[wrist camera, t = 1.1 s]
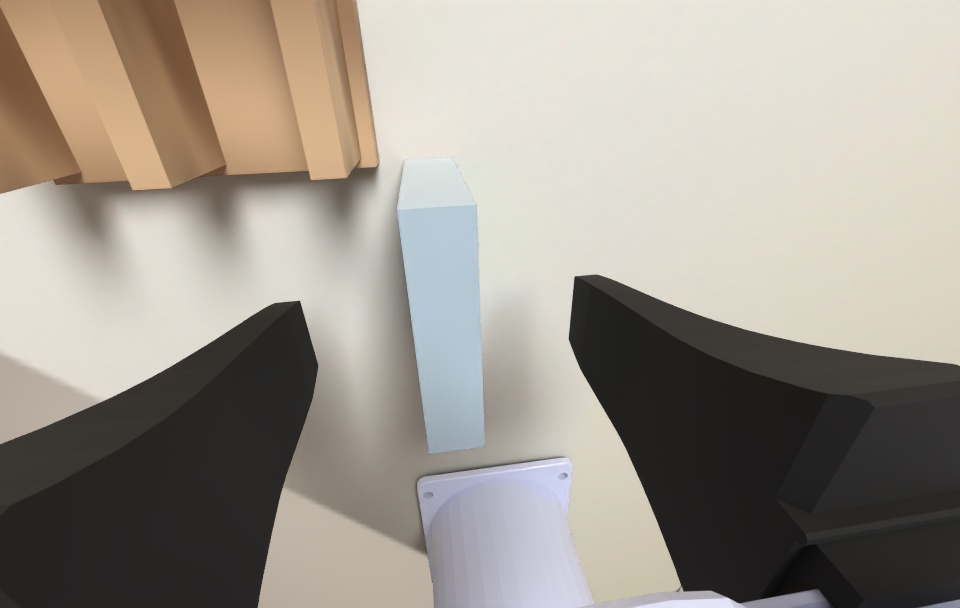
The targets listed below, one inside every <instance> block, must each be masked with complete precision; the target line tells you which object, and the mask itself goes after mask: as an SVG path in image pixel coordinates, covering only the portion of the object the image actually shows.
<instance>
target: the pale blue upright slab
mask: <svg viewBox="0 0 960 608" xmlns="http://www.w3.org/2000/svg"><path fill="white" fill-rule="evenodd" d="M397 214H398V222H399V230H400V237H401V245H402V252H403V260H404V268H405V275H406V283H407V291H408V298H409V306H410V314H411V321H412V329H413V336H414V344H415V352H416V359H417V367H418V375H419V382H420V390H421V397H422V405H423V413H424V420H425V428H426V436H427V443H428V451H429V454H434V453H442V452H449V451H457V450H465V449H472V448H480V447H485V435H484V406H483V376H482V346H481V316H480V286H479V257H478V227H477V204H476V202H475V200H474V198H473V196H472V194H471V192H470V190H469V188H468V186H467V184H466V182H465V180H464V178H463V176H462V174H461V172H460V170H459V168H458V166H457V164H456V162H455V160H454V158H453V157H445V158H427V159H408V160H404V165H403V172H402V179H401V186H400V192H399V199H398V206H397Z"/></svg>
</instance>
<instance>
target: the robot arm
mask: <svg viewBox="0 0 960 608" xmlns="http://www.w3.org/2000/svg"><path fill="white" fill-rule="evenodd" d="M569 341H570V344H571V347H572V349H573V352H574V355H575V357H576V359H577V362H578V364H579V367H580V369H581V371H582V372H583V374H584V376H585V378H586V380H587V381H588V383H589V385H590V386H591V388H592V390H593V392H594V393H595V395H596V397H597V398H598V400H599V402H600V404H601V405H602V407H603V409H604V410H605V412H606V414H607V416H608V417H609V419H610V421H611V422H612V424H613V426H614V427H615V429H616V431H617V433H618V434H619V436H620V438H621V440H622V442H623V444H624V446H625V448H626V450H627V452H628V454H629V457H630V459H631V461H632V463H633V466H634V468H635V470H636V472H637V474H638V477H639V479H640V481H641V484H642V486H643V488H644V491H645V493H646V496H647V498H648V500H649V503H650V505H651V508H652V510H653V512H654V515H655V517H656V520H657V522H658V525H659V527H660V530H661V533H662V535H663V538H664V540H665V543H666V546H667V548H668V551H669V553H670V556H671V559H672V561H673V564H674V566H675V569H676V572H677V575H678V578H679V580H680V583H681V586H682V589H683V592H660V593H654V594H649V595H643V596H637V597H632V598H626V599H621V600H615V601H610V602H604V603H599V604H595V603H594V600H593V597H592V594H591V591H590V588H589V586H588V583H587V580H586V577H585V574H584V571H583V568H582V565H581V562H580V559H579V556H578V553H577V551H576V548H575V545H574V542H573V539H572V536H571V533H570V530H569V527H568V524H567V521H566V518H567V510H568V502H569V494H570V485H571V477H572V469H573V467H572V464H571V461H570V460H569V459H568V458H556V459H548V460H541V461H534V462H527V463H519V464H512V465H505V466H497V467H490V468H483V469H476V470H468V471H461V472H454V473H446V474H439V475H432V476H425V477H422V478H421V479H419V481H418V482H417V491H418V498H419V504H420V510H421V516H422V522H423V529H424V535H425V541H426V547H427V553H428V560H429V566H430V572H431V578H432V582H433V592H434V608H960V366H958V365H955V364H948V363H939V362H930V361H922V360H913V359H904V358H895V357H886V356H877V355H870V354H863V353H857V352H851V351H844V350H838V349H832V348H826V347H821V346H815V345H810V344H805V343H800V342H795V341H791V340H786V339H782V338H777V337H773V336H768V335H764V334H760V333H756V332H752V331H749V330H745V329H741V328H738V327H735V326H731V325H728V324H725V323H721V322H718V321H715V320H712V319H709V318H706V317H703V316H700V315H697V314H694V313H692V312H689V311H686V310H684V309H681V308H678V307H676V306H673V305H671V304H668V303H666V302H663V301H661V300H659V299H656V298H654V297H651V296H649V295H647V294H644V293H642V292H640V291H638V290H635V289H633V288H631V287H628V286H626V285H624V284H621V283H619V282H617V281H614V280H612V279H609V278H606V277H603V276H600V275H586V276H575V279H574V289H573V300H572V310H571V320H570V331H569ZM317 370H318V363H317V359H316V356H315V352H314V349H313V345H312V342H311V338H310V335H309V331H308V328H307V324H306V321H305V317H304V314H303V310H302V306H301V303H300V301H293V302H282V303H274V304H272V305H270V306H268V307H266V308H264V309H262V310H261V311H259V312H257V313H256V314H254V315H253V316H251V317H250V318H248V319H246V320H245V321H243V322H242V323H240V324H239V325H237V326H236V327H234V328H233V329H231V330H230V331H228V332H226V333H225V334H223V335H222V336H220V337H219V338H217V339H216V340H214V341H213V342H211V343H209V344H208V345H206V346H204V347H203V348H201V349H199V350H198V351H196V352H194V353H193V354H191V355H190V356H188V357H186V358H185V359H183V360H181V361H180V362H178V363H176V364H175V365H173V366H171V367H169V368H168V369H166V370H164V371H162V372H161V373H159V374H157V375H155V376H153V377H151V378H149V379H148V380H146V381H144V382H142V383H140V384H138V385H136V386H134V387H132V388H130V389H128V390H126V391H124V392H122V393H120V394H118V395H116V396H114V397H112V398H109V399H107V400H105V401H103V402H101V403H98V404H96V405H94V406H92V407H89V408H87V409H85V410H83V411H80V412H78V413H76V414H73V415H71V416H69V417H66V418H64V419H62V420H60V421H57V422H55V423H53V424H50V425H48V426H46V427H43V428H41V429H39V430H36V431H33V432H31V433H28V434H26V435H23V436H20V437H18V438H15V439H13V440H10V441H8V442H5V443H3V444H0V608H257V607H258V602H259V595H260V590H261V584H262V579H263V574H264V569H265V564H266V559H267V554H268V549H269V544H270V539H271V534H272V530H273V525H274V521H275V517H276V512H277V508H278V503H279V499H280V495H281V491H282V488H283V485H284V481H285V478H286V475H287V472H288V469H289V466H290V463H291V460H292V457H293V455H294V452H295V449H296V446H297V443H298V440H299V437H300V434H301V431H302V429H303V426H304V423H305V420H306V417H307V414H308V411H309V408H310V405H311V402H312V398H313V393H314V388H315V383H316V376H317Z"/></svg>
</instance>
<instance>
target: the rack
mask: <svg viewBox="0 0 960 608" xmlns="http://www.w3.org/2000/svg"><path fill="white" fill-rule="evenodd" d="M378 163H379V155H378V148H377V141H376V135H375V128H374V121H373V114H372V107H371V100H370V93H369V86H368V79H367V72H366V65H365V58H364V51H363V44H362V37H361V30H360V23H359V16H358V9H357V2H356V0H0V194H1V193H5V192H9V191H13V190H16V189H20V188H24V187H28V186H31V185H35V184H39V183H42V182H46V181H50V180H54V182H55V184H56V185H60V184H78V183H96V182H114V181H129V183H130V185H131V187H132V190H148V189H165V188H173V187H175V186H178V185H180V184H182V183H185V182H187V181H189V180H192V179H194V178H196V177H204V176H222V175H240V174H258V173H276V172H294V171H309V174H310V178H311V180H321V179H338V178H347V177H348V175H349V174H350V172H351V171H352V170H353V168H367V167H377V165H378Z"/></svg>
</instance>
